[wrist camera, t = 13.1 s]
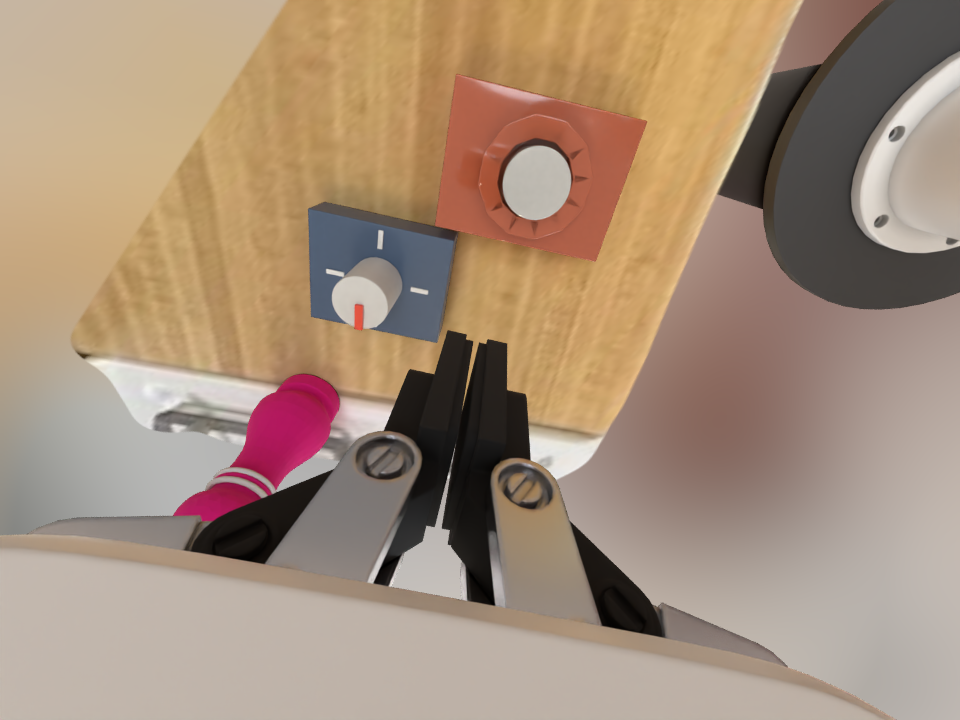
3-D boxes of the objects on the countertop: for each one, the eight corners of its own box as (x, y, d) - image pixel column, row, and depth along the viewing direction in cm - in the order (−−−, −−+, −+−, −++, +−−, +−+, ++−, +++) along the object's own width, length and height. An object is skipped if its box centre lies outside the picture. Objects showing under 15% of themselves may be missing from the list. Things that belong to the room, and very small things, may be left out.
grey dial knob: (352, 252, 30) (328, 272, 26) (404, 262, 30) (388, 283, 26) (352, 299, 32) (330, 325, 28) (400, 308, 32) (385, 335, 28)
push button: (575, 152, 24) (581, 154, 22) (555, 219, 26) (559, 226, 24) (511, 137, 23) (511, 138, 22) (496, 206, 25) (495, 212, 24)
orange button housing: (630, 121, 27) (658, 120, 22) (586, 247, 32) (601, 271, 27) (462, 80, 27) (451, 69, 21) (442, 215, 31) (429, 232, 26)
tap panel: (458, 231, 32) (454, 241, 29) (441, 327, 36) (436, 344, 34) (324, 201, 31) (306, 208, 28) (324, 303, 36) (309, 317, 33)
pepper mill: (273, 411, 43) (120, 599, 26) (281, 359, 39) (109, 539, 22) (337, 431, 44) (231, 626, 27) (350, 383, 40) (237, 572, 23)
